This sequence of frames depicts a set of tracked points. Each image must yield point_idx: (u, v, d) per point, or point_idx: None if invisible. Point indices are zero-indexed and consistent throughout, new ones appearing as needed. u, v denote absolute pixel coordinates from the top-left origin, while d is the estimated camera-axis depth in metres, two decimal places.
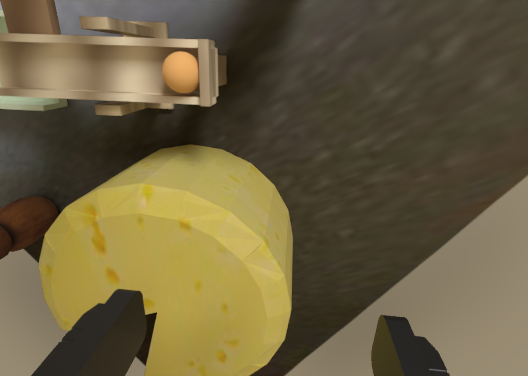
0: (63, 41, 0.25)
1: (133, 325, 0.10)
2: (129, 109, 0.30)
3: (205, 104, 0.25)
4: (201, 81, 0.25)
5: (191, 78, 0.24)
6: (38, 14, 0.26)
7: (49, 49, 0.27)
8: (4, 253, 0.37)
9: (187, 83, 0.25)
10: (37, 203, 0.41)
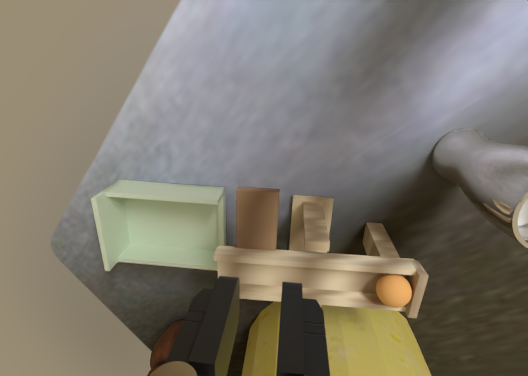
0: (294, 265, 0.30)
1: (236, 309, 0.11)
2: None
3: (412, 316, 0.30)
4: (414, 302, 0.29)
5: None
6: (267, 236, 0.31)
7: None
8: None
9: (404, 305, 0.29)
10: None
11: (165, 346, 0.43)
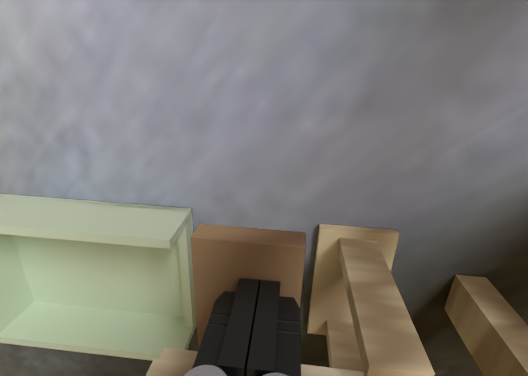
0: None
1: None
2: None
3: None
4: None
5: None
6: None
7: None
8: None
9: None
10: None
11: None
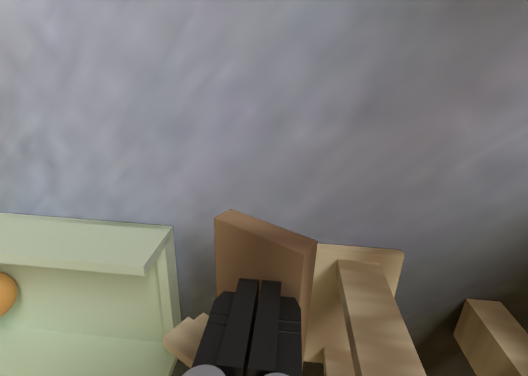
0: None
1: (256, 311, 0.11)
2: None
3: None
4: None
5: None
6: None
7: None
8: None
9: None
10: None
11: None
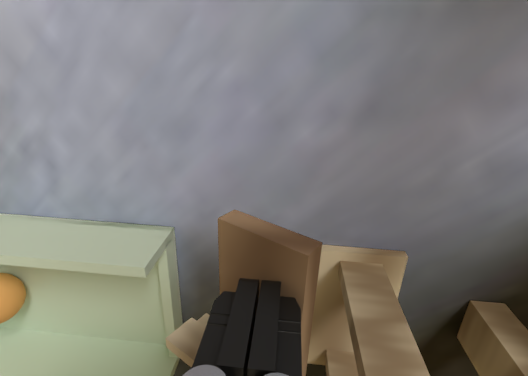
0: None
1: (256, 311, 0.11)
2: None
3: None
4: None
5: None
6: None
7: None
8: None
9: None
10: None
11: None
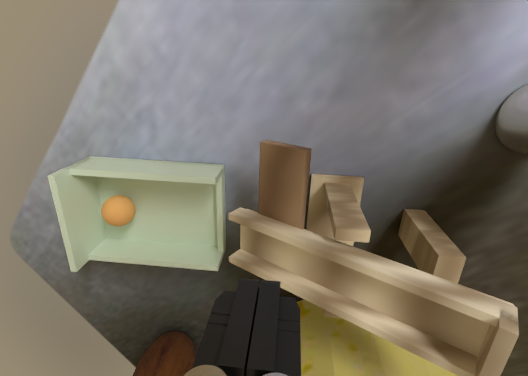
0: (309, 250, 0.23)
1: None
2: None
3: None
4: (485, 371, 0.17)
5: (105, 219, 0.31)
6: (289, 207, 0.25)
7: None
8: None
9: None
10: (182, 348, 0.37)
11: (150, 366, 0.34)
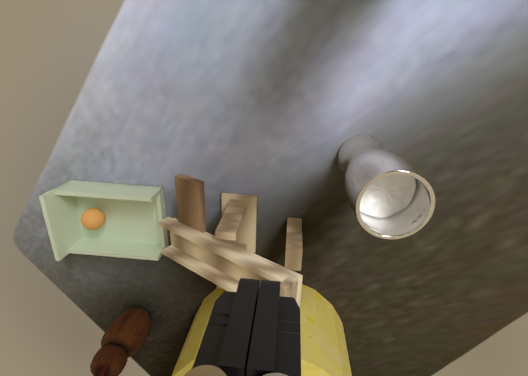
0: (201, 245, 0.36)
1: None
2: None
3: None
4: None
5: (85, 225, 0.44)
6: (194, 217, 0.38)
7: None
8: (123, 368, 0.46)
9: (85, 227, 0.44)
10: (139, 318, 0.51)
11: (114, 329, 0.48)
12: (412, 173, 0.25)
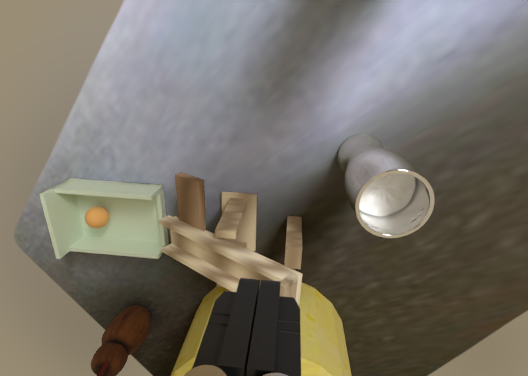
0: (201, 243, 0.36)
1: None
2: None
3: None
4: None
5: (93, 224, 0.44)
6: (194, 216, 0.38)
7: None
8: (123, 366, 0.46)
9: (92, 226, 0.44)
10: (139, 316, 0.51)
11: (114, 327, 0.48)
12: (411, 172, 0.25)
